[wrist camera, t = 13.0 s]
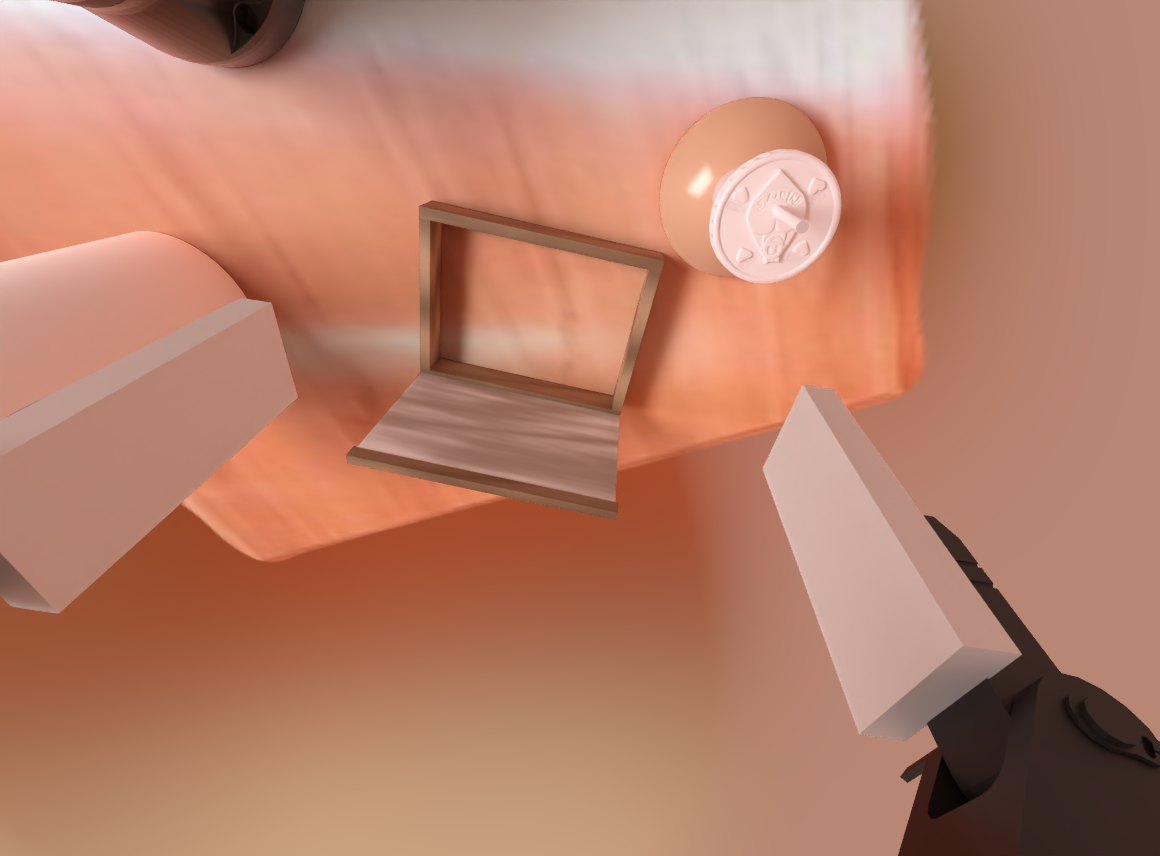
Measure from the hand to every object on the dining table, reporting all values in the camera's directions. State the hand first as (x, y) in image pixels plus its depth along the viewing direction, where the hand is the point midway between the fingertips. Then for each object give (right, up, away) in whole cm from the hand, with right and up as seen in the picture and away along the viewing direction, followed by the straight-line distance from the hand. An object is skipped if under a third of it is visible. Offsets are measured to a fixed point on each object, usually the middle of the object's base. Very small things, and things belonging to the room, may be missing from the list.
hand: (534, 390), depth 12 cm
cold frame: (-3, +9, +27) cm, 29 cm away
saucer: (+12, +16, +21) cm, 29 cm away
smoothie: (+12, +15, +20) cm, 28 cm away
